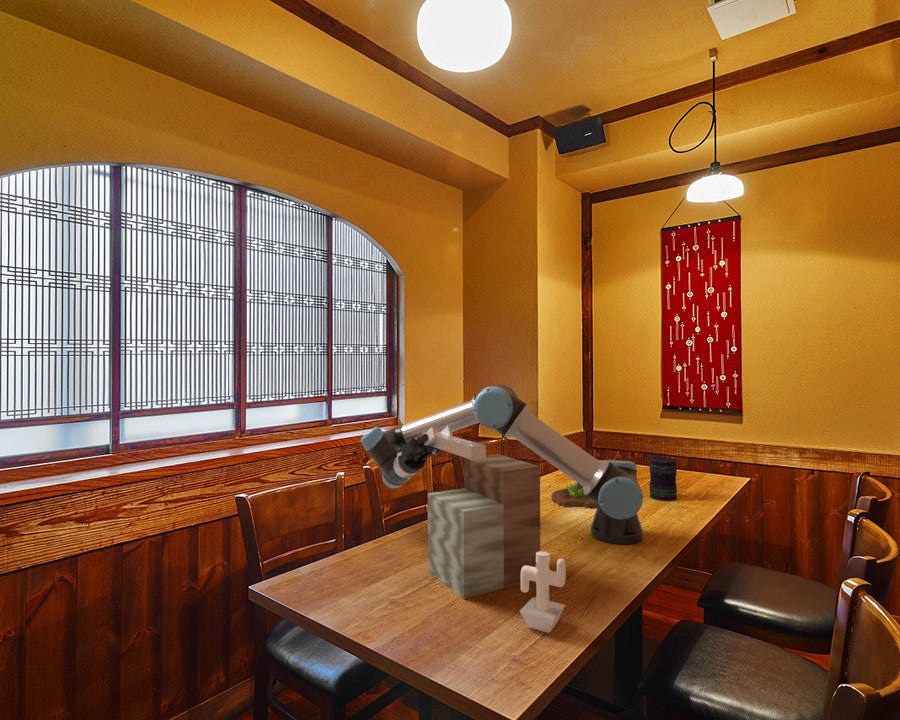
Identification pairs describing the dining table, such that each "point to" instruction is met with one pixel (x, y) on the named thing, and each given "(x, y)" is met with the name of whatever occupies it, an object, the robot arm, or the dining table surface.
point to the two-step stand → (485, 526)
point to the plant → (573, 497)
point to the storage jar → (663, 478)
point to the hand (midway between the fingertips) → (442, 430)
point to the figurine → (542, 593)
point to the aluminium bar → (458, 446)
